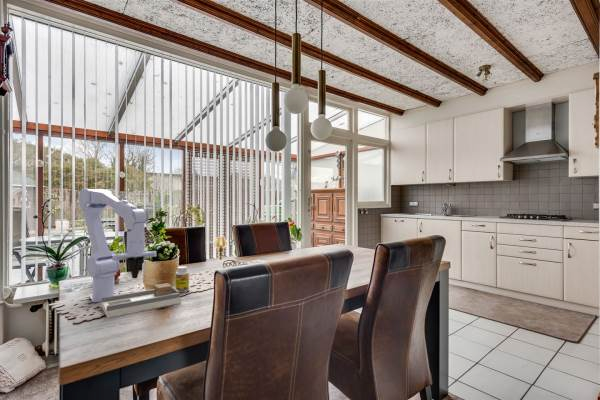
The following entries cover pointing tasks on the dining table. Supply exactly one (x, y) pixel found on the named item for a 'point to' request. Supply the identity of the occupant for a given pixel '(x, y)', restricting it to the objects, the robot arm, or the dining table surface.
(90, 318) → the dining table surface
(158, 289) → the block
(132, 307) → the deck
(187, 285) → the supplement bottle
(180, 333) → the dining table surface
